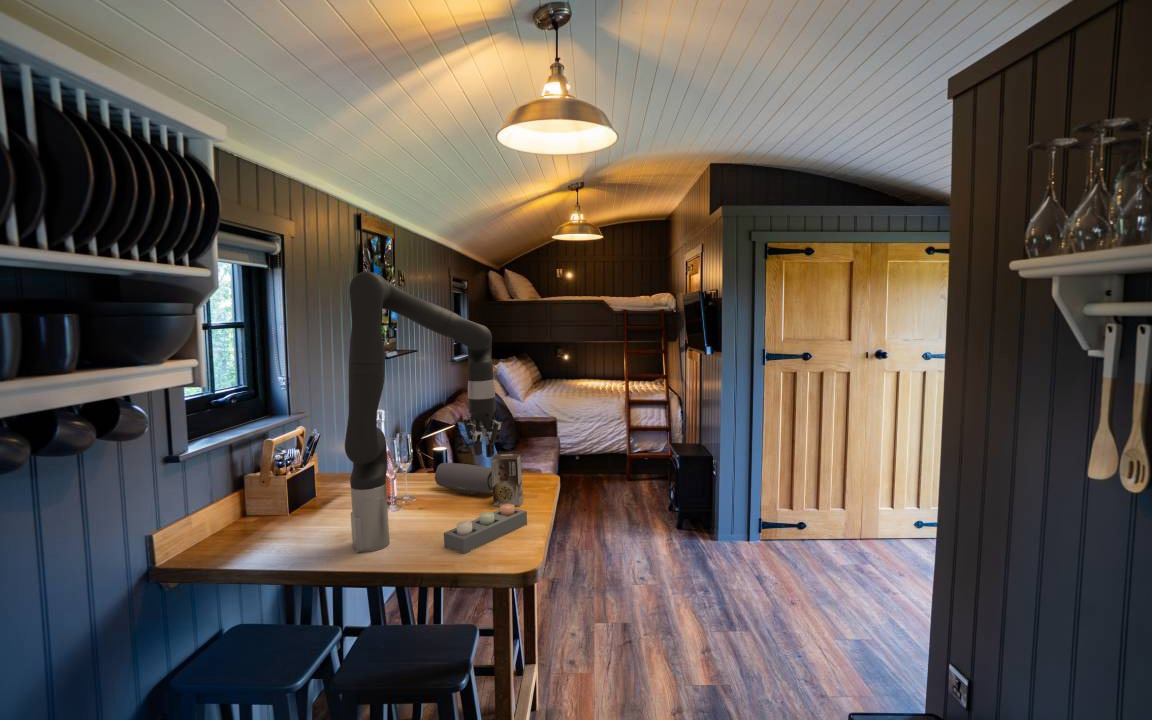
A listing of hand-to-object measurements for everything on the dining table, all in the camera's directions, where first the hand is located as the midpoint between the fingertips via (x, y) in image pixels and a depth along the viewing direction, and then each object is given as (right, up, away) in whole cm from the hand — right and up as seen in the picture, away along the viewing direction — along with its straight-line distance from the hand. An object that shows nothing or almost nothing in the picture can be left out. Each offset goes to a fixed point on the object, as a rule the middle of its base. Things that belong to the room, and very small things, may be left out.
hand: (484, 455), depth 161 cm
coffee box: (+3, -21, +29) cm, 36 cm away
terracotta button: (+6, -20, +9) cm, 22 cm away
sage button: (+1, -20, +2) cm, 20 cm away
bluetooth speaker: (-13, -20, +42) cm, 49 cm away
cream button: (-4, -21, -5) cm, 22 cm away
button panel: (+1, -23, +2) cm, 23 cm away
